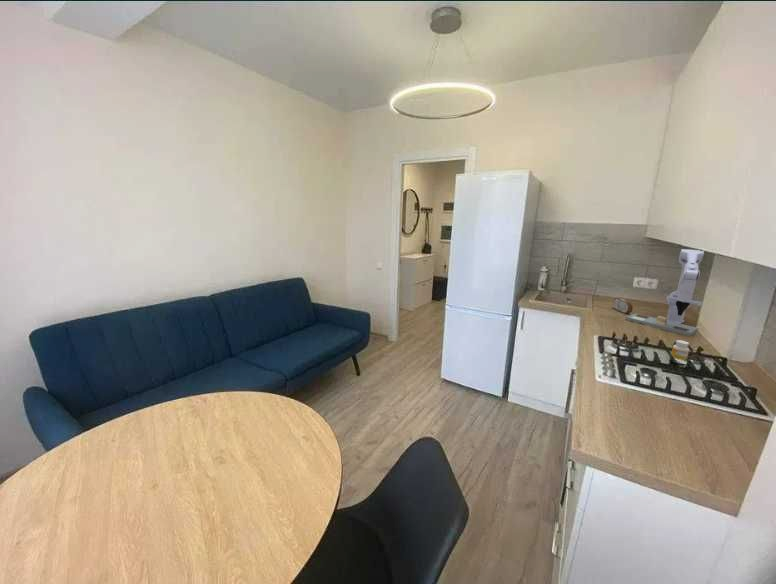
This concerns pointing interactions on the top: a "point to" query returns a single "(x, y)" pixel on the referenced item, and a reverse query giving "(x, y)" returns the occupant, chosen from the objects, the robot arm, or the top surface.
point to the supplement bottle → (680, 350)
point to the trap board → (669, 325)
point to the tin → (623, 305)
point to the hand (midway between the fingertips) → (679, 315)
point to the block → (661, 320)
